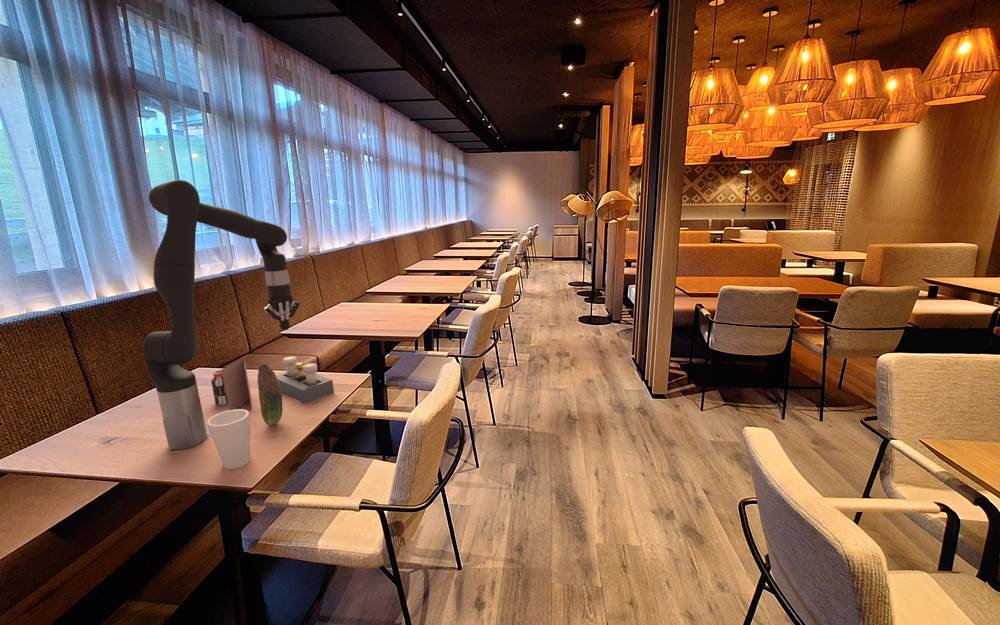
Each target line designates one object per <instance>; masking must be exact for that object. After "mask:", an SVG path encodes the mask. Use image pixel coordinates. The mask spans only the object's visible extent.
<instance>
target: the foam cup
mask: <svg viewBox="0 0 1000 625" xmlns="http://www.w3.org/2000/svg"><path fill="white" fill-rule="evenodd" d="M206 425H207V430H208V433H209V434H210V435H211V439H212V440H213V442H214V444H213V445H214V446H215V448H216V451H217V454H218V456H219V458H220V461H221V462H220V463H221V464H222V467H223V468H224V469H227V470H234V469H238V468H241V467H244V466H245V465H247V464H248V463H250V462H251V461H250V460H251V457H252V456H251V454H252V453H251V416H250V412H249V411H248V410H246V409H243V408H241V409H239V408H238V409H237V408H235V409H234V410H229V409H228V410H225V411H221V412H219V413H217V414H214V415H213V416H210V418H208V420H207V421H206Z"/></svg>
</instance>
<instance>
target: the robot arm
mask: <svg viewBox="0 0 1000 625" xmlns="http://www.w3.org/2000/svg"><path fill="white" fill-rule="evenodd" d="M148 200H149V203H150V206H151V207H152V208H153V209H154V210H155V211H156V212H158V213H160V215H161V214H162V215H164V216H166V222H167V223H166V228H165V232H164V233H163V234H164V235H163V237H162V239H161V240H160V244H159V246H158V248H157V250H156V254H155V257H154V262H153V263H154V264H153V283H154V286H155V289H156V291H157V292H158V294H159V296H160V297H161V299H162V301H163V302H164V303H165V305H166V307H167V308H168V310H169V315H170V330H164V331H163V330H162V331H161V330H160V331H159V330H158V331H152V332H150V333H149V334H148V335H146V337H145V338H144V340H143V343H142V354H143V359H144V363H145V366H146V370H147V372H148V375H149V379H150V381H151V383H152V384H153V385H154V386H155V389H156V393H157V398H158V403H159V407H160V410H161V416H162V423H163V428H164V433H165V437H166V441H167V445H168V451H176V450H177V451H178V450H185V449H193V448H195V446H197V445H199V444H202V443H203V442H205V440H207V439H208V433H207V432H208V431H207V427H206V422H205V419H204V418H205V417H204V412H203V408H202V403H201V398H200V394H199V389H198V384H197V379H196V375H195V374H194V372H192V371H190V370H188V369H185V368H183V367H182V366H180V365H184V364H185V365H186V364H188V363H191V361H192V360H193V359H194V357H195V355H196V353H197V352H196V351H197V334H196V333H197V332H196V322H195V310H194V309H195V300H194V299H195V298H194V296H195V279H196V278H195V276H196V275H195V274H196V273H195V272H196V265H195V264H196V261H195V260H196V257H195V256H196V231H197V225H198V223H200V224H203V225H206V226H210V227H215V228H217V229H220V230H222V231H226V232H228V233H231V234H235V235H237V236H239V237H242V238H245V239H250V240H255V243H256V246H257V249H258V250H259V253H260V256H261V257H262V258H261V259H263V265H264V272H265V273H264V274H265V275H264V276H265V285H266V290H267V296H268V301H267V303H268V304H267V305H266V307H263V308H262V311H263V312H265V313H266V314H267V315H268V316H269V317H270V318H271V319H273V320H276V321H278V323H279V328H280V329H281V330H282V331H283V332H284V331H288V330H289V329H290V328H291V326H290V322H289V321H290V318H293V317H294V316H295V314H296V312H297V310H298V308H299V307H300V302H299V301H296V300H294V297H293V296H292V289H291V282H290V275H289V271H288V267H287V260H286V257H285V255H284V254H283V253H282V252H280V251H278V248H277V247H281V246H283V245H285V244H286V242H287V240H288V234H287V232H286V231H285V229H284V228H282V227H281V226H279V225H277V224H274V223H270V222H266V221H263V220H259V219H256V218H254V217H251V216H249V215H247V214H244V213H242V212H239V211H236V210H233V209H229V208H225V207H219V206H215V205H210V204H206V203H203V202H200V196H199V192H198V190H197V188H196V187H195V186H194V185H193V184H192V183H191V182H189V181H187V180H183V179H175V180H171V181H167V182H164V183H161V184H158V185H155V186H154V187H153V188H151V190H150V191H149V194H148ZM273 310H274V312H273Z"/></svg>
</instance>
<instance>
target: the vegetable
mask: <svg viewBox="0 0 1000 625" xmlns="http://www.w3.org/2000/svg"><path fill="white" fill-rule="evenodd" d="M257 372H258V373H257V386H258V387H257V388H258V389H257V390H258V398H259V406H260V412H261V417H262V419H263V421H264V423H265V424H266V425H268V426H269V427H273V426H276V425H277V424H279V422H280V421H281V419H282V417H283V416H282V414H283V395H282V394H283V393H281V389H280V386H279V383H278V380H277V377H276V376H277V375H276V373H275V372H274V371H273V370H272V368H270V367H269V366H268V365H267V364H266V363H261V364H259V366H258V371H257Z"/></svg>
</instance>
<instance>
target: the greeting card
mask: <svg viewBox="0 0 1000 625" xmlns="http://www.w3.org/2000/svg"><path fill="white" fill-rule="evenodd" d="M246 365H247V364H246V359H245V357H243V358H242V359H241V358H240V359H239V360H238V361H235V362H234V363H232V364H230V365H228V366H226V367H224V368H221V370H222V375H223V380H224V386H225V391H226V396H227V401H228V404H227V406H228V411H229V410H235V409H237V408H238V407H240V406H241V405H242V404H244V403H245V402H247V401H249V400H250V407H251V408H253V403H252V393H251V388H250V382H249V377H248V370H247V366H246Z"/></svg>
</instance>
